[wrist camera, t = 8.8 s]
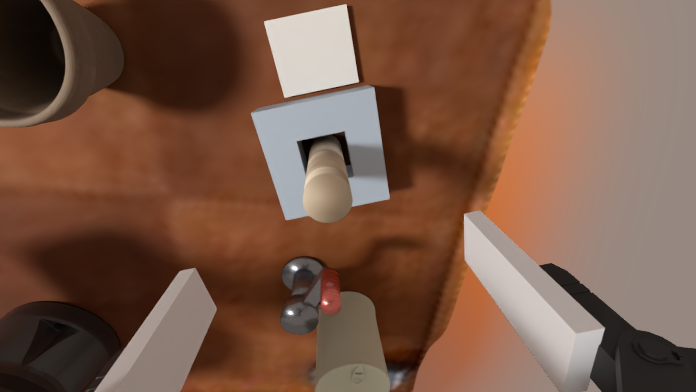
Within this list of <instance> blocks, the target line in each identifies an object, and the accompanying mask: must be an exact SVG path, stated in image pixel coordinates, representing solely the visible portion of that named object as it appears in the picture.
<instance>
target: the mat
mask: <svg viewBox="0 0 696 392" xmlns="http://www.w3.org/2000/svg"><path fill="white" fill-rule="evenodd" d="M264 24H265V28H266V31H267V35H268V39H269V42H270V46H271V50H272V53H273V57H274V61H275V64H276V68H277V72H278V75H279V79H280V83H281V86H282V90H283V94H284V98H286V97H291V96H295V95H300V94H305V93H310V92H314V91H319V90H324V89H329V88H334V87H338V86H343V85H348V84H353V83H357V82H359V80H358V73H357V67H356V61H355V55H354V49H353V42H352V36H351V30H350V24H349V17H348V11H347V5H346V4H345V5H340V6H335V7H331V8H326V9H321V10H316V11H312V12H307V13H302V14H297V15H293V16H288V17H283V18H278V19H274V20H269V21H264Z"/></svg>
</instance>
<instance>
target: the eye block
mask: <svg viewBox="0 0 696 392" xmlns="http://www.w3.org/2000/svg"><path fill="white" fill-rule="evenodd" d="M251 115H252V118H253V121H254V124H255V127H256V130H257V133H258V136H259V139H260V143H261V146H262V149H263V152H264V155H265V158H266V161H267V164H268V167H269V170H270V173H271V176H272V179H273V182H274V185H275V188H276V191H277V194H278V197H279V201H280V204H281V207H282V210H283V213H284V216H285V219H286V220H290V219H295V218H299V217H304V216H309V215H308V214H307V212H306V211H305V209H304V206H303V193H304V186H305V180H306V173H307V167H308V163H307V160H306V156H305V152H304V148H303V144H302V141H301V140H305V139H310V138H315V137H319V136H324V135H329V134H334V133H339V132H343V131H344V133H345V138H346V144H347V149H348V154H349V159H350V164H351V165H348V166H346V171H347V175H348V180H349V184H350V188H351V193H352V198H353V202H352V207H353V206H357V205H362V204H367V203H372V202H377V201H382V200H386V199H390V196H389V189H388V182H387V175H386V168H385V161H384V154H383V146H382V139H381V132H380V125H379V118H378V111H377V104H376V97H375V89H374V87H372V86H370V85H365V86H360V87H356V88H351V89H346V90H341V91H337V92H332V93H327V94H322V95H317V96H313V97H308V98H303V99H298V100H294V101H289V102H284V103H279V104H274V105H270V106H265V107H260V108H258V109H257V110H255V111H253V112H252V113H251Z"/></svg>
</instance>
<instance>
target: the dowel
mask: <svg viewBox="0 0 696 392" xmlns="http://www.w3.org/2000/svg"><path fill="white" fill-rule="evenodd" d="M352 202H353V198H352V193H351V188H350V184H349V180H348V175H347V171H346V166H345V162H344V158H343V153H342V149H341V145H340V142H339V141H338V139H337V138H336V137H334V136H332V135H324V136H319V137H316V138H315V139H314V140H313V141H312V143H311V147H310V153H309V160H308V167H307V173H306V180H305V186H304V193H303V206H304V209H305V211H306V212H307V214H308V215H309V216H310V217H312V218H313V219H315V220H317V221H320V222H325V223H330V222H335V221H338V220H340V219H342V218H343V217H345V216H346V215H347V214H348V212H349V211H350V209H351V207H352Z"/></svg>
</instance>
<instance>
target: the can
mask: <svg viewBox="0 0 696 392" xmlns="http://www.w3.org/2000/svg"><path fill="white" fill-rule="evenodd" d="M340 297H341V310H340V311H339V312H338V313H336V314H334V315H326V314H324V313H323V312H322V311H321V309H320V305H319V322H318V325H317V358H316V385H315V392H389V390H390V379H389V376H388V372H387V368H386V364H385V359H384V354H383V350H382V345H381V341H380V336H379V331H378V326H377V321H376V316H375V307H374V304H373V303H372V301H371V300H370V299H369V298H368V297H366V296H365V295H363V294H361V293H357V292H352V291H345V292H340Z"/></svg>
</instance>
